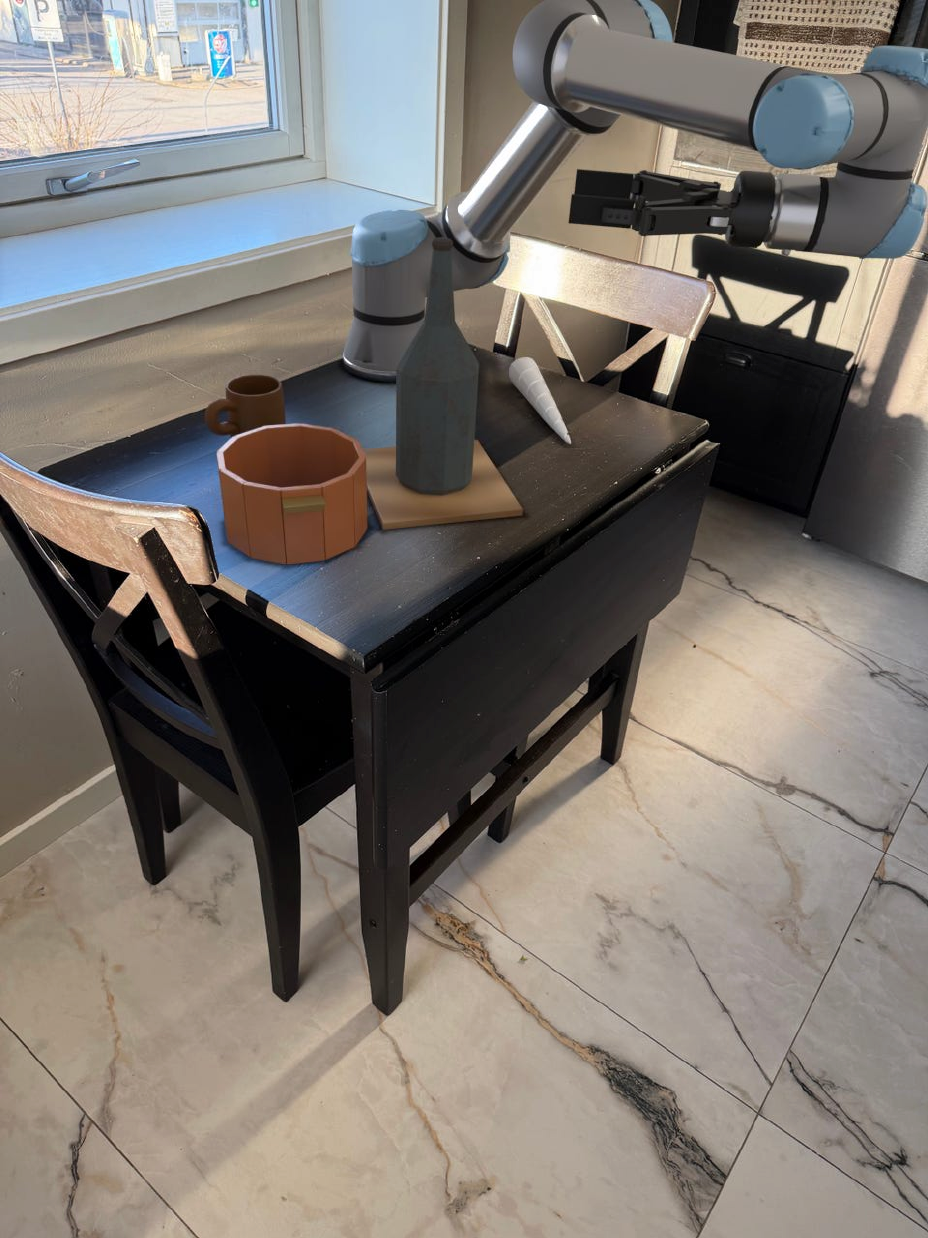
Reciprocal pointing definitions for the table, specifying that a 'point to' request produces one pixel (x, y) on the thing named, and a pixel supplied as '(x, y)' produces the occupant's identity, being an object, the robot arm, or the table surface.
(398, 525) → the wooden board
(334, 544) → the ice bucket
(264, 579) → the table surface
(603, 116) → the robot arm
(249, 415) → the mug
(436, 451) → the bottle
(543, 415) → the unicorn horn
